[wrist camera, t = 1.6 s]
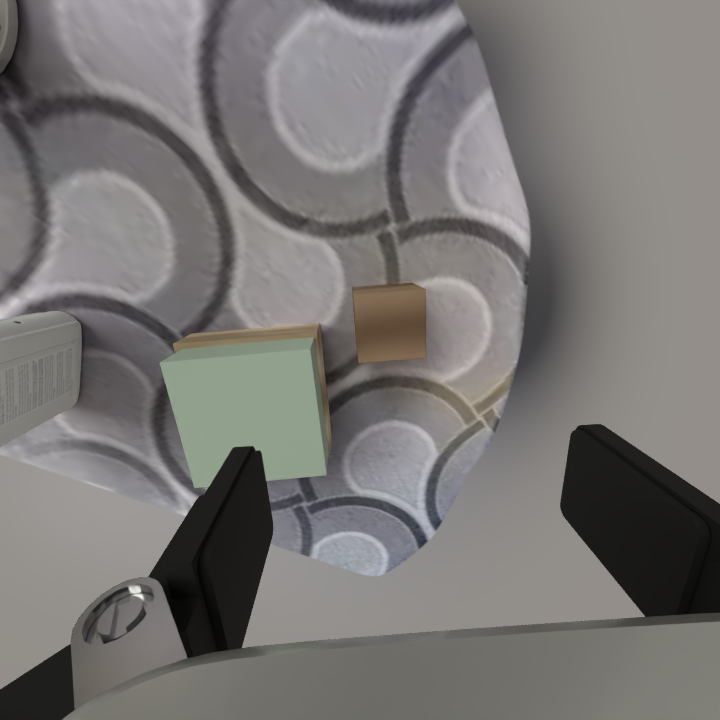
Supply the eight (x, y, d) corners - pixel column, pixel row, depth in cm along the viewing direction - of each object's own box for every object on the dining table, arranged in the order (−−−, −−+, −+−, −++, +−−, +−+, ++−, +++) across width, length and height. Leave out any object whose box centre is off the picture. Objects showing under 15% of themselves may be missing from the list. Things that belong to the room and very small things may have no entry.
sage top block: (182, 348, 31) (159, 362, 27) (314, 337, 31) (310, 349, 27) (211, 461, 34) (194, 488, 31) (328, 450, 35) (326, 475, 31)
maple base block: (193, 332, 35) (172, 343, 30) (319, 322, 35) (316, 332, 31) (219, 442, 39) (203, 466, 34) (331, 432, 39) (330, 455, 35)
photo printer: (39, 304, 33) (-131, 334, 21) (87, 315, 33) (-54, 351, 21) (40, 398, 36) (-109, 470, 24) (83, 407, 36) (-42, 482, 24)
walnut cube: (351, 287, 34) (353, 294, 28) (411, 282, 34) (425, 289, 28) (356, 345, 36) (358, 363, 30) (412, 340, 36) (426, 357, 30)
